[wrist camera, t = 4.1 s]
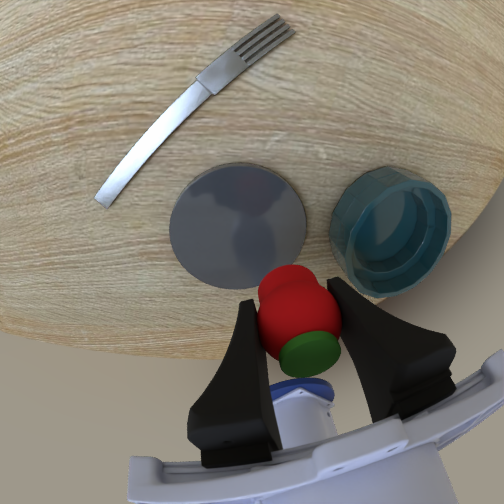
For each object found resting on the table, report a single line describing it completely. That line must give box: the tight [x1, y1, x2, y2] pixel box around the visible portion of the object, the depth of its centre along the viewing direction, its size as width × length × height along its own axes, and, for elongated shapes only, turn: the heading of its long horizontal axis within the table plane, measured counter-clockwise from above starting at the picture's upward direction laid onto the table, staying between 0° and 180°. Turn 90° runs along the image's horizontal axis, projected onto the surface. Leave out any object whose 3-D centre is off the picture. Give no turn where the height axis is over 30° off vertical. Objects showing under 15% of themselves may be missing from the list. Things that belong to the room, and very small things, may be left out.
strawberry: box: [257, 264, 342, 378], centre depth 13 cm, size 4×4×5 cm
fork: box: [94, 14, 295, 209], centre depth 16 cm, size 18×2×1 cm, turn 132°
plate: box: [169, 163, 306, 289], centre depth 21 cm, size 10×10×1 cm
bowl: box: [329, 166, 451, 298], centre depth 21 cm, size 10×10×4 cm
